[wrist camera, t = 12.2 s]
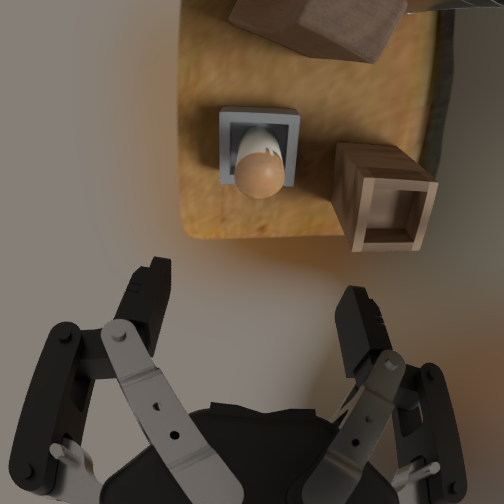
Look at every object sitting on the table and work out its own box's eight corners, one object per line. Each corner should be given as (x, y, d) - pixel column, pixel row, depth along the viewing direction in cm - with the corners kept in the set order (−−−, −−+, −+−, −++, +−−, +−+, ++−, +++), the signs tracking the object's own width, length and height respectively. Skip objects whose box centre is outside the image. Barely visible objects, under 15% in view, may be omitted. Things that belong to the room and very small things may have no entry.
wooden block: (230, 25, 24) (197, -12, 9) (248, -10, 21) (239, -80, 7) (312, 59, 26) (377, 67, 11) (330, 25, 23) (412, 1, 9)
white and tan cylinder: (235, 131, 30) (227, 160, 23) (272, 121, 29) (277, 146, 22) (246, 165, 32) (243, 203, 25) (282, 155, 31) (290, 191, 24)
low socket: (223, 106, 29) (219, 112, 26) (295, 109, 29) (300, 115, 26) (223, 171, 34) (219, 183, 31) (290, 173, 34) (293, 186, 31)
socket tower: (336, 142, 31) (363, 177, 23) (397, 146, 31) (438, 182, 23) (331, 202, 36) (351, 251, 28) (387, 203, 36) (419, 250, 28)
